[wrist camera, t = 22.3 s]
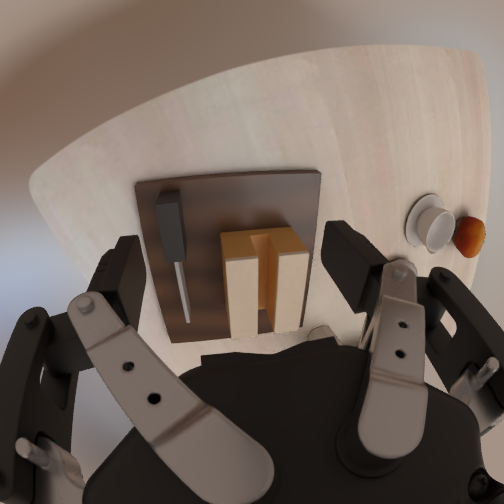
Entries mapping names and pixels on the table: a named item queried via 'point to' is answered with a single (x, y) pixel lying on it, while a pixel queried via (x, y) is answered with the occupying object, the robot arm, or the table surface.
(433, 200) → the teacup
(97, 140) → the table surface
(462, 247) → the fruit
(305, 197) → the board
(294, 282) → the orange u-shaped channel
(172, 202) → the kitchen blade
